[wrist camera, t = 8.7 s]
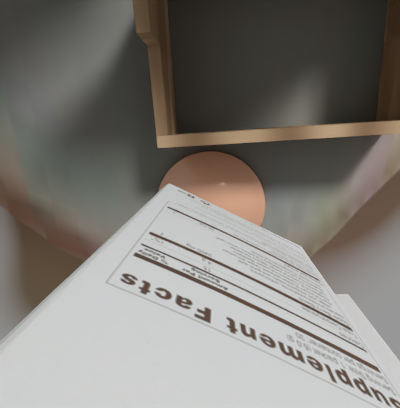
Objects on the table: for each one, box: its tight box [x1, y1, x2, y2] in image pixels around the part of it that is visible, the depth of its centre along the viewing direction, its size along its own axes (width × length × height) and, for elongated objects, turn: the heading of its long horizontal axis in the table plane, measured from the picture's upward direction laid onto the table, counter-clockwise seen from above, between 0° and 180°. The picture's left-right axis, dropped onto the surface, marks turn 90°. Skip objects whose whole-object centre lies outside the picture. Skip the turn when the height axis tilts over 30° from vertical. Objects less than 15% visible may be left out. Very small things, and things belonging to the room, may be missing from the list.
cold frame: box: [133, 0, 400, 148], centre depth 23 cm, size 22×15×9 cm
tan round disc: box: [158, 151, 265, 226], centre depth 31 cm, size 12×12×1 cm
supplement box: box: [0, 184, 400, 408], centre depth 10 cm, size 9×9×15 cm
